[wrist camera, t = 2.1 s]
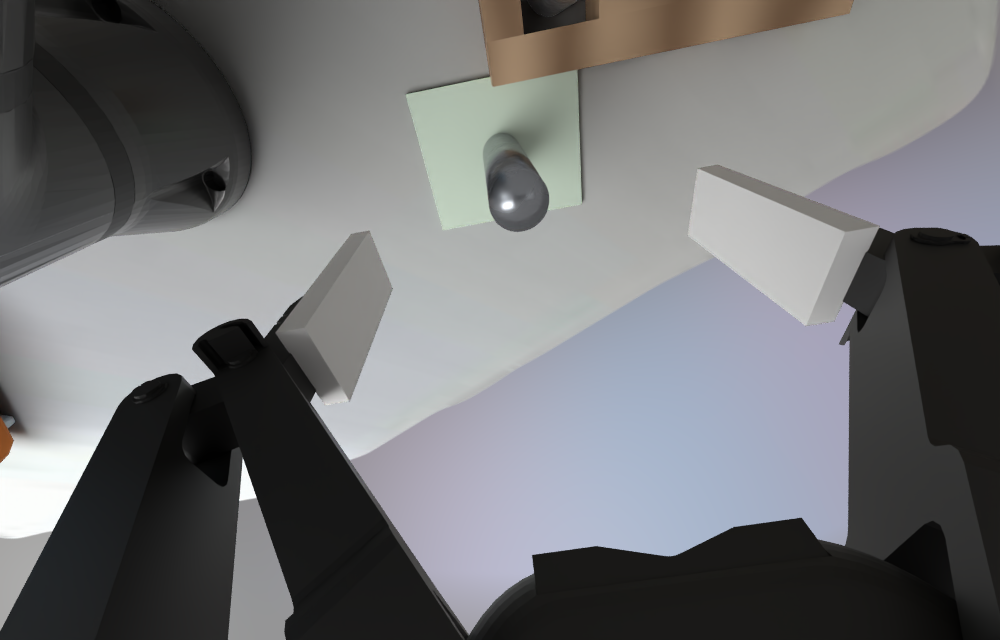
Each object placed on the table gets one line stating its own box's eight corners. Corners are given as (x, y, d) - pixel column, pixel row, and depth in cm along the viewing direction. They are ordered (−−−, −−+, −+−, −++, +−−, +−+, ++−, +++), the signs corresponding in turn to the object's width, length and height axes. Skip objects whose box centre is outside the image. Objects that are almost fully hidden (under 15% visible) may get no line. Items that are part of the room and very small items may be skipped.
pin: (486, 178, 28) (494, 236, 18) (479, 137, 26) (483, 176, 17) (523, 171, 28) (551, 225, 18) (518, 129, 26) (546, 164, 16)
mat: (443, 228, 31) (443, 230, 30) (406, 94, 25) (405, 94, 24) (580, 202, 30) (581, 204, 30) (575, 58, 24) (577, 58, 24)
